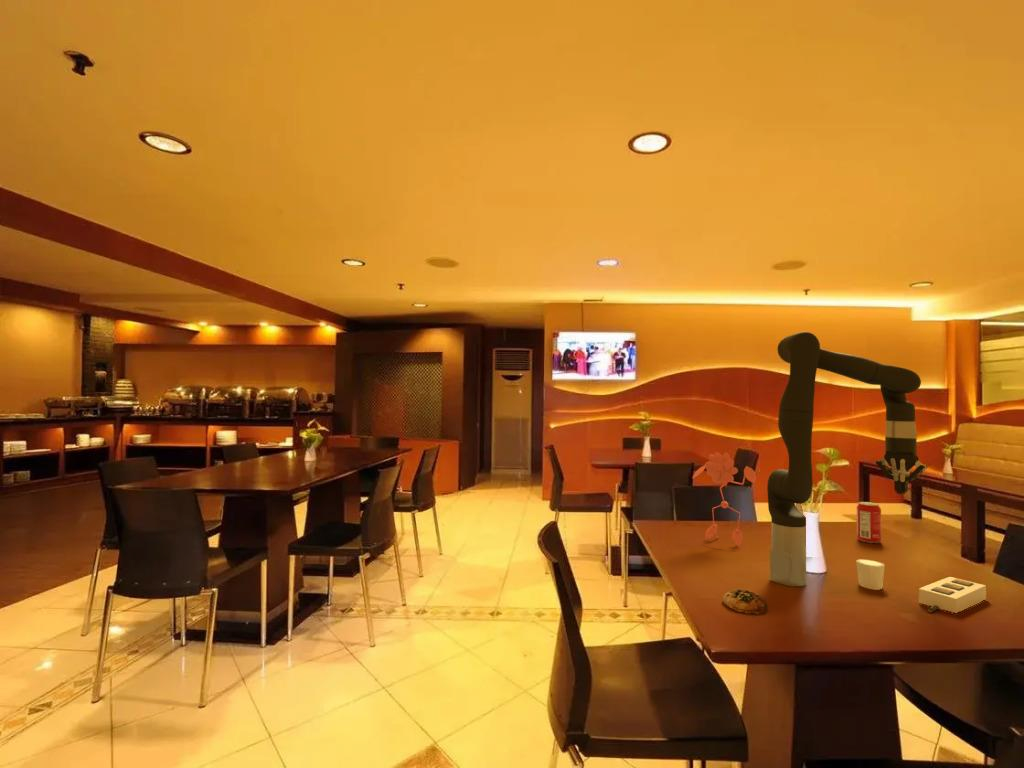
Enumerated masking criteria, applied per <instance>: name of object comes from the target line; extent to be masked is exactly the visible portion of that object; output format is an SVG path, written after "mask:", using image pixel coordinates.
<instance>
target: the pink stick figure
mask: <svg viewBox="0 0 1024 768" xmlns="http://www.w3.org/2000/svg"><path fill="white" fill-rule="evenodd" d="M708 459H709V461H706V462H705V464H704V465H702V466H700V467H699V468H698V469H697V470H696V471H695V473H694V474H693V476H692V477H691V478H692V480H695V478H697V477H699V476H700V475H701V474H702V473H703V472H704V471H705V470H706V475H707V476H710V477H711V480H712V482H713V483H715V484H722V485H721V486H720V487H719V491H720V494H721V498H722V501H721V503H720V504H719V505H717V506H715V507H712V523H713V524H711V525H710V526H709V527H708V528H707V530H706V532H705V535H704V536H705V539H707V540H710V539H711V538H713V537H714V536H716V539H717V538H718V539H719V536H718V532H717V531H718V525H717V524H716V523H715V517H714V509H716V508H719V507H721V508H723V509H728V508H729V509H731V511H734V512H736V513H738V514H739V515H738V521H737V527H736V528H735V529H734V530H733V531H732V536H731V538H732V541H733V542H734V543H735V545H736V546H737V547H738V546H739V547H740V546H741V545H742V543H743V541H744V536H743V533H742V531H741V530H740V529H739V526H740V522H741V515H742V514H741V512H739V511H737V510H736V509H734V508H733V507H730V506H729V502H727V501H725V498H724V494H723V491H722V488H723V487H724V486H726V485H728V483H732V484H736V485H741V486H744V484H745V480H747V481H749V482H751V483H752V484H755V483H756V479H757V474H756V472H755V470H754V469H753V468H752V467H749V466H748V465H746V466H745V468H744V469H743V480H742V482H738V481H734V480H735V479H734V478H735V477H734V476H735V475H736V474H738V473H739V469H738V467H736V466H734V465H735V460H733V459H731V456H730V454H729V453H728V452H724V453H723V455H722V454H721V453H719V451H718V452H717V451H716V452H714V454H711V453H710V454H708Z"/></svg>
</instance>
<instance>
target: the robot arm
mask: <svg viewBox="0 0 1024 768" xmlns="http://www.w3.org/2000/svg"><path fill="white" fill-rule="evenodd" d="M777 354H778V356H779V358H780V359H781V360H782V361H783V362H785V363H787V364H789V376H788V382H787V383H786V387H785V389H784V392H783V393H782V396H781V398H780V402H779V404H778V405H779V407H778V419H777V420H778V421H777V424H778V425H777V426H778V431H779V434H780V436H781V438H782V441H783V443H784V445H785V447H786V451H787V453H788V455H787V456H788V468H787V469H783V468H781V469H779V468H778V469H775V470H773V471H772V472H771V473H770V474H769V477H768V479H767V488H766V489H767V490H766V491H767V504H768V506H767V507H768V512H769V515H770V517H771V520H770V521H771V537H770V538H771V541H770V542H771V543H770V544H771V548H770V550H769V556H770V557H769V571H770V572H769V580H770V581H772V582H775V583H777V584H781V585H784V586H787V587H805V586H806V585H807V547H806V517H805V516H804V515H803V514H802V513H801V512H800V511H799V510H798V509H797V508H796V503H797V504H802V503H805V502H806V501H808V499H809V498H810V496H811V493H812V487H813V465H812V441H813V427H814V425H813V424H814V409H815V408H814V407H815V405H814V403H815V393H816V392H815V390H816V387H815V386H816V376H817V371H818V370H822V371H826V372H830V373H834V374H837V375H841V376H843V377H846V378H849V379H852V380H854V381H858V382H861V383H864V384H867V385H875V386H880V392H881V397H882V399H883V402H884V405H885V427H884V438H885V439H884V441H885V442H884V445H885V446H884V450H885V451H884V452H885V454H884V455H883V458H881V459H880V460H876V461H875V464H876V465H877V466H878V468H879V470H881V471H882V472H883V474H884V475H885V476H886V478H887V479H891V480H893V481H894V486H893V487H894V492H896V494H897V495H906V493H908V491H909V487H908V486H909V485H908V483H909V482H911V481H916V479H917V478H919V477H920V476H921V475H922V474H923V472H925V471H926V470H927V469H928V465H927V464H923V463H922V462H921V461H919V459H920V458H919V457H918V455H917V453H918V451H917V448H918V447H917V443H918V442H917V437H918V433H917V426H916V406H915V405H914V403H913V402H910V401H908V400H907V396H906V394H911V393H914V392H916V391H917V390H919V388H920V387H921V384H922V380H921V377H920V375H918V374H917V372H915V371H913V370H912V369H908V368H905V367H901V366H895V365H890V364H884V363H880V362H878V361H875V360H872V359H869V358H866V357H863V356H859V355H854V354H848V353H842V352H835V351H832V350H831V351H830V350H827V349H823V348H821V343H820V341H819V339H818V337H817V336H816V335H815V333H812V332H810V331H800V332H796V333H794V334H791V335H788V336H785V337H784V338H783V339H781V340H780V341H779V343H778V345H777ZM913 468H915V469H914V470H913V471H912V472H911V470H912V469H913ZM813 488H814V487H813Z"/></svg>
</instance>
